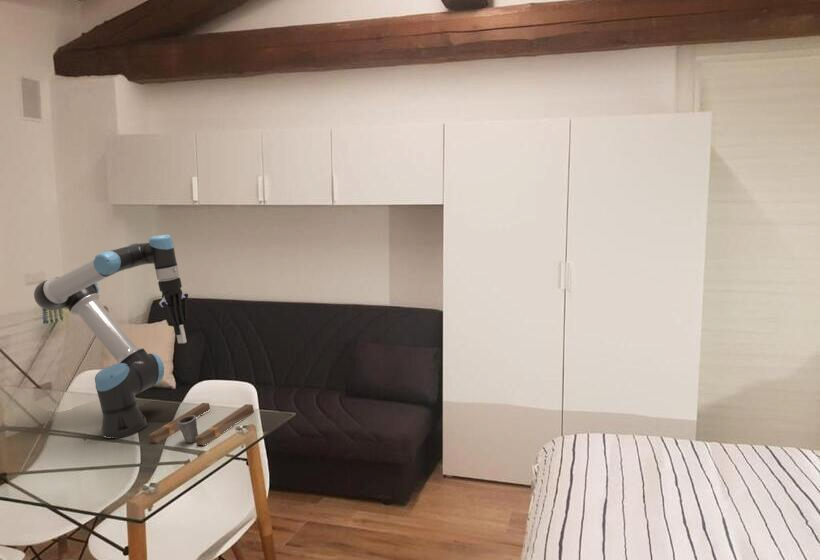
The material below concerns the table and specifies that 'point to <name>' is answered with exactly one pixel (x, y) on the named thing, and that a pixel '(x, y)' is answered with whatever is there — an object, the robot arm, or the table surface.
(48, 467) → the table surface
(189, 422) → the pipe
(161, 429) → the guide rails
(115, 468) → the table surface
